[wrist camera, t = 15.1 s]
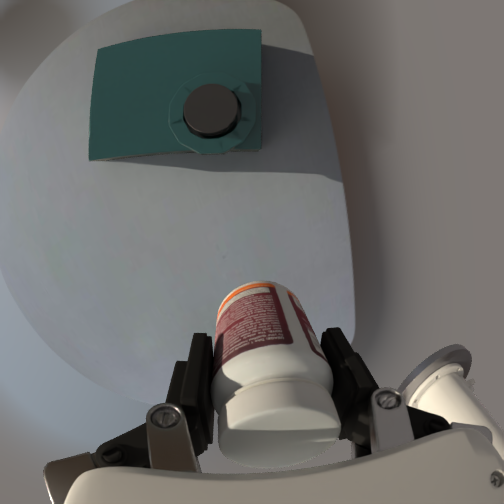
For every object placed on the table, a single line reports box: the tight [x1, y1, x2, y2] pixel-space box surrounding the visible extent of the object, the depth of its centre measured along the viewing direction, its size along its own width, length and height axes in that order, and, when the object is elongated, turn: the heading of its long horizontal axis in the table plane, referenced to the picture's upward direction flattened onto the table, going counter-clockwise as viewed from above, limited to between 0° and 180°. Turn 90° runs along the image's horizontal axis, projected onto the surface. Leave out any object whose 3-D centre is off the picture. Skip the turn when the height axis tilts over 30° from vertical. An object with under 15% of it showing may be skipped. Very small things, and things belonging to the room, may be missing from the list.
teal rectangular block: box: [89, 29, 262, 161], centre depth 20 cm, size 16×12×5 cm
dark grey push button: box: [184, 84, 238, 136], centre depth 19 cm, size 4×4×2 cm
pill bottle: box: [210, 281, 341, 469], centre depth 11 cm, size 5×5×8 cm
